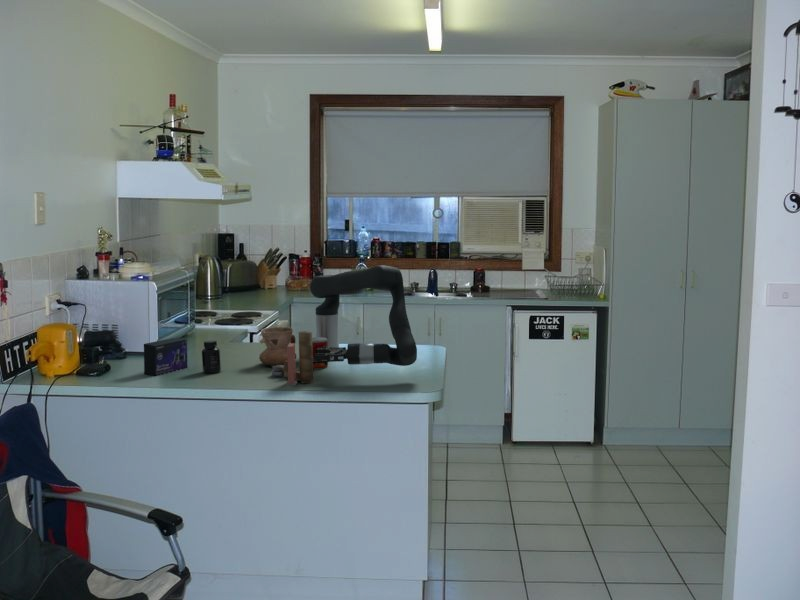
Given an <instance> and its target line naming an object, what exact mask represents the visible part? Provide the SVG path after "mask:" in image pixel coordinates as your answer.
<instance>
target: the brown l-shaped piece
mask: <svg viewBox="0 0 800 600" xmlns="http://www.w3.org/2000/svg"><path fill="white" fill-rule="evenodd" d="M312 338H313V332H312V331H311V330H302V331H298V357H299V358H298V360H299V361H298V363H299V370H296V380H297V381H299V383H302V384H310V383H314V369H313V348H312ZM272 370H273V371H284V377H283V378H287V379H288V360H286V361H284V365H276V366H272Z"/></svg>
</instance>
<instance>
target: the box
mask: <svg viewBox="0 0 800 600" xmlns="http://www.w3.org/2000/svg"><path fill="white" fill-rule="evenodd" d="M143 365H144V366H143V369H144V370H143V373H144V375H146V374H149V375H148V376H152V375H158V376H161V375H160V374H162V375H164V373H166V374H169V373H168V372H170V373H173V372H172V371H174V372H177V371H176V370H178V371H181V370H180V369H182V370H185V368H186V369H188V339H187V338H181V337H176V336H175V337H171V338H167V339H162V340H158V341H152V342H147V343H144V344H143Z"/></svg>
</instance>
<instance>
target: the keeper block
mask: <svg viewBox="0 0 800 600" xmlns="http://www.w3.org/2000/svg"><path fill="white" fill-rule="evenodd" d="M295 353H296V342H295V343H291V342H290V343H289V345H288V346H287V358H288V378H287V380H288V381H287V383H286V386H287V387H288V386H289V387H290V386H292V387H293V386H296V384H298V380H296V371H297V370H296V359H295Z"/></svg>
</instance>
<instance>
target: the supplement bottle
mask: <svg viewBox="0 0 800 600" xmlns="http://www.w3.org/2000/svg"><path fill="white" fill-rule="evenodd" d="M217 346H218V344H217V340H211V339H210V340H204V341H203V347H204V348H203V349H202V350H201V361H202V372H203V374H205V373H206V375H212V374H213V375H214V373H215V374H219V373H220V372H222V365H221V350H220V348H219V347H217Z"/></svg>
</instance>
